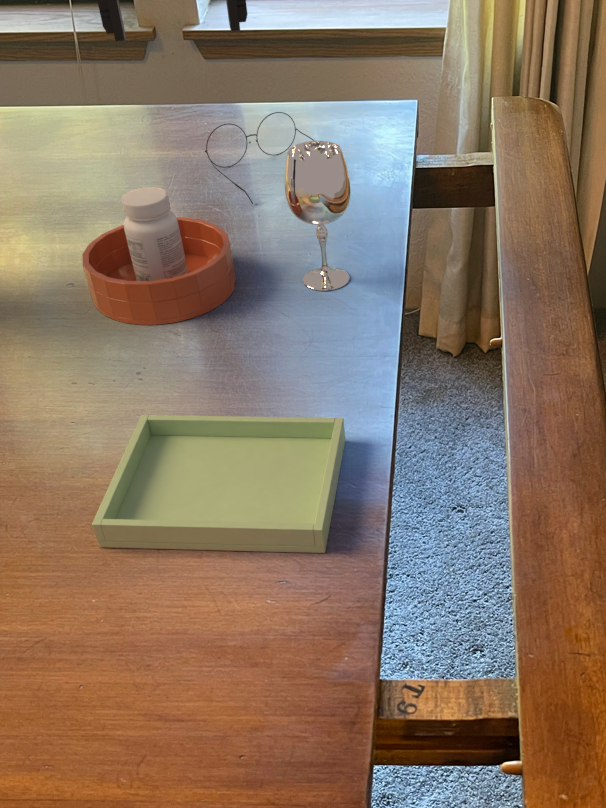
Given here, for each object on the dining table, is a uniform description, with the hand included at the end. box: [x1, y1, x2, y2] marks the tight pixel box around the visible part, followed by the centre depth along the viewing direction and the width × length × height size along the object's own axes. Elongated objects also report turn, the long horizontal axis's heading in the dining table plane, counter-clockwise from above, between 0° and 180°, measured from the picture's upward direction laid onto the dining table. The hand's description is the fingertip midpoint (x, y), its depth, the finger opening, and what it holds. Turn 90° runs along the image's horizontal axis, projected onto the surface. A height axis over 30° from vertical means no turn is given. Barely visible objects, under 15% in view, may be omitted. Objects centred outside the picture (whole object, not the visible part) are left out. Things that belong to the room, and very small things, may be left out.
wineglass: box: [284, 140, 352, 292], centre depth 85 cm, size 6×6×12 cm
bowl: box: [81, 216, 237, 326], centre depth 88 cm, size 13×13×4 cm
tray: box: [91, 414, 346, 554], centre depth 66 cm, size 15×12×2 cm
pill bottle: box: [121, 186, 188, 281], centre depth 86 cm, size 5×5×8 cm
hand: (178, 33), depth 72 cm, fingers open, 8 cm apart
